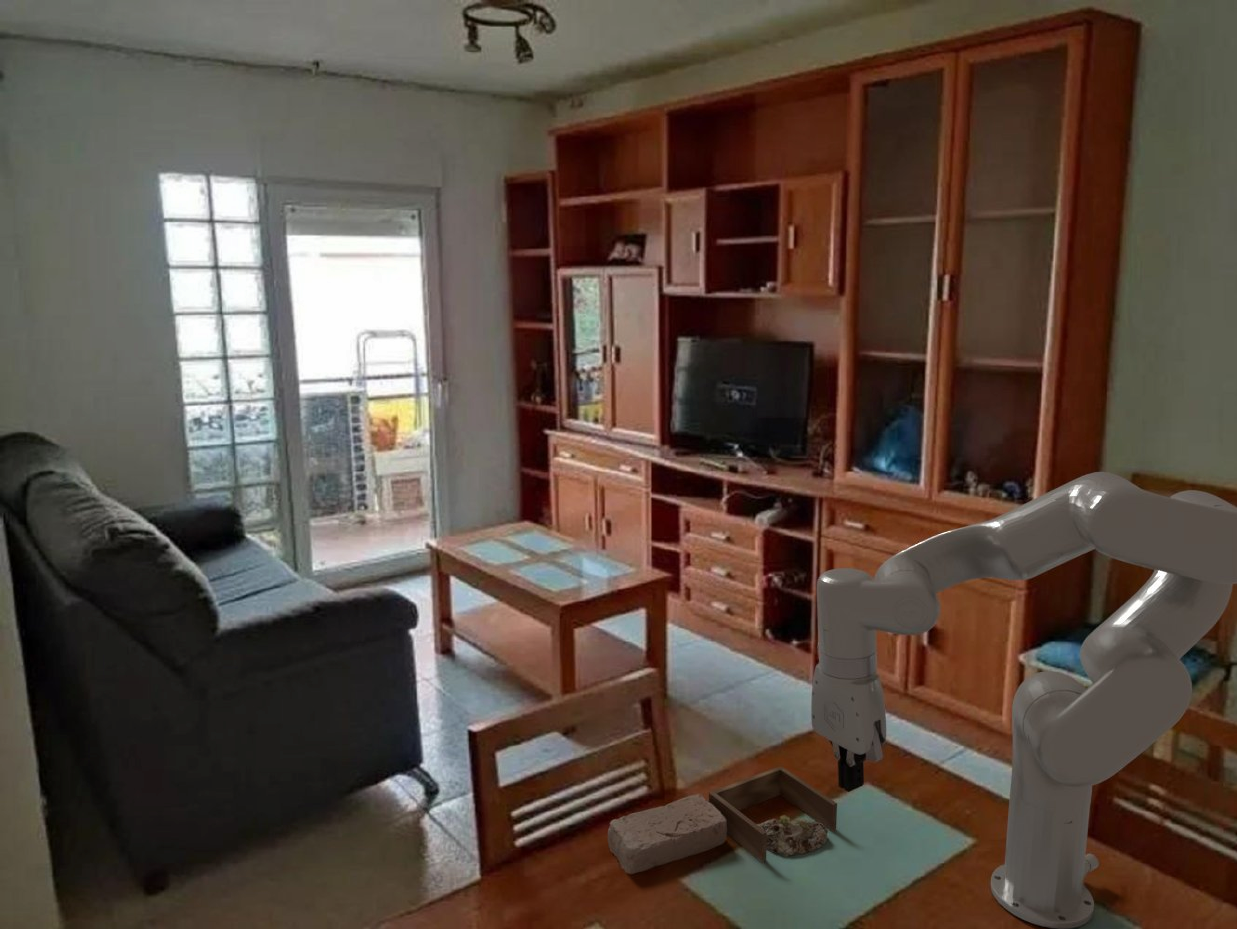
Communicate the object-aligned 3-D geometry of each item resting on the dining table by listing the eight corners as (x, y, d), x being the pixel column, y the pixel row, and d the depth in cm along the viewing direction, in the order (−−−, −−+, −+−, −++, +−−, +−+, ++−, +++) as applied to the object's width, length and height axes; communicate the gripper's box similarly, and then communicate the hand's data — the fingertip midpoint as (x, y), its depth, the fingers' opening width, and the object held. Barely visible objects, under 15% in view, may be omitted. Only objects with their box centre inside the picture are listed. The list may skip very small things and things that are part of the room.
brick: (629, 878, 127) (629, 848, 126) (605, 845, 135) (605, 817, 134) (729, 847, 134) (729, 819, 133) (700, 818, 142) (701, 790, 141)
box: (780, 791, 148) (780, 766, 147) (836, 830, 137) (837, 803, 136) (708, 818, 141) (708, 792, 140) (761, 862, 130) (762, 834, 129)
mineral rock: (762, 847, 130) (754, 803, 137) (759, 868, 132) (751, 823, 139) (836, 848, 130) (824, 804, 137) (832, 868, 132) (821, 824, 139)
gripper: (788, 652, 125) (793, 773, 128) (869, 687, 112) (872, 821, 116) (828, 638, 129) (832, 756, 132) (911, 671, 116) (913, 801, 119)
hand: (851, 786), depth 124 cm, fingers closed
